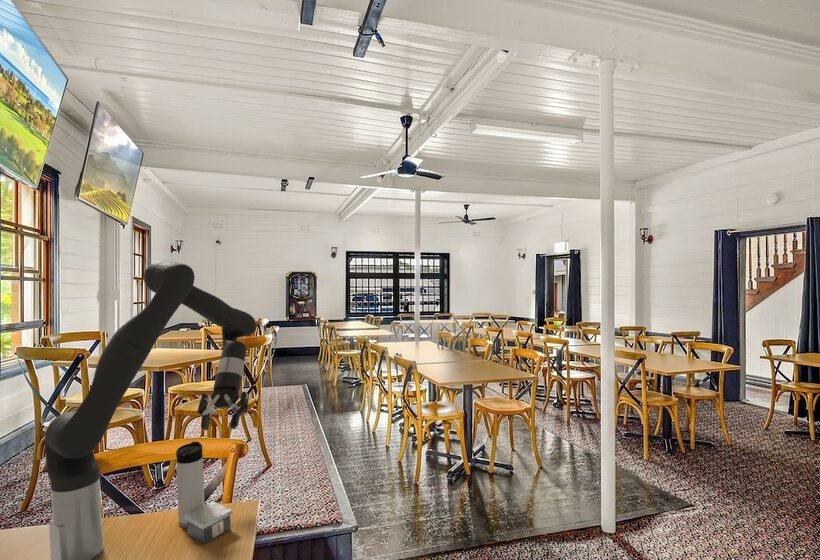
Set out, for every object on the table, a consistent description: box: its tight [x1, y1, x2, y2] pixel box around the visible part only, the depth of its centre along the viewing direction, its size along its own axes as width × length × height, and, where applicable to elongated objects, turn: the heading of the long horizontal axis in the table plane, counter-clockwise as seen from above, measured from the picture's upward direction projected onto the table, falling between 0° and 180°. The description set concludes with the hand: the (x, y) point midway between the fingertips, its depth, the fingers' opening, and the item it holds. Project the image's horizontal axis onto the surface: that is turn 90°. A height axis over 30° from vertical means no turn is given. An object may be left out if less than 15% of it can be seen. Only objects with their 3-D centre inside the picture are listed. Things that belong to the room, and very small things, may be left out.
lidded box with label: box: [184, 501, 233, 545], centre depth 116 cm, size 8×8×5 cm
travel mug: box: [175, 441, 206, 528], centre depth 121 cm, size 6×7×20 cm
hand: (218, 429), depth 133 cm, fingers open, 8 cm apart
